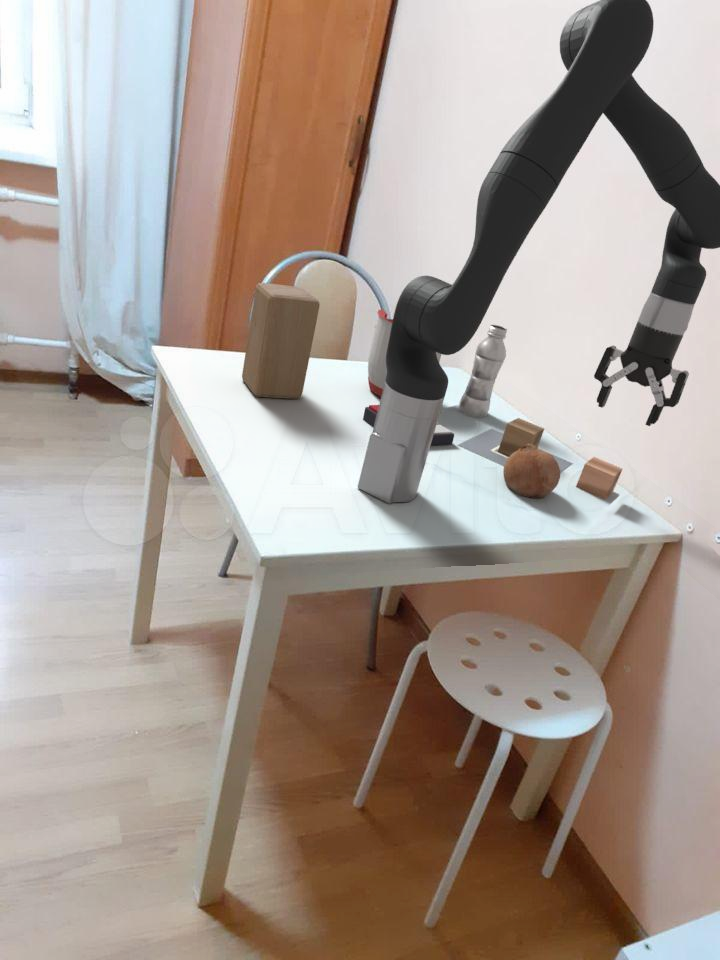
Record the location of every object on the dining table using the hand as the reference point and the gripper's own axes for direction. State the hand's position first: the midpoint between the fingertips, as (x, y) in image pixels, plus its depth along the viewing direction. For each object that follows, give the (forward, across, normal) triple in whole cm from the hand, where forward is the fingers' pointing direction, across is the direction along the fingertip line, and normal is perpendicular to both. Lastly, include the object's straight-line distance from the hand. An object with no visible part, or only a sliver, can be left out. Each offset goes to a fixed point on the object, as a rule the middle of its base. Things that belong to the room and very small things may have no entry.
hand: (624, 415), depth 125 cm
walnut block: (+15, -16, 0) cm, 22 cm away
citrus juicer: (+16, -49, +7) cm, 52 cm away
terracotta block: (+16, 0, 0) cm, 16 cm away
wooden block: (+16, -62, -19) cm, 67 cm away
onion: (+16, -8, -14) cm, 23 cm away
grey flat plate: (+16, -16, 0) cm, 22 cm away
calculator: (+16, -35, -11) cm, 40 cm away
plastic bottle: (+16, -32, +13) cm, 38 cm away
